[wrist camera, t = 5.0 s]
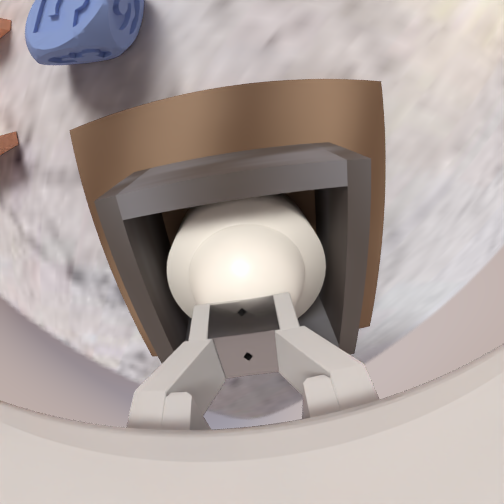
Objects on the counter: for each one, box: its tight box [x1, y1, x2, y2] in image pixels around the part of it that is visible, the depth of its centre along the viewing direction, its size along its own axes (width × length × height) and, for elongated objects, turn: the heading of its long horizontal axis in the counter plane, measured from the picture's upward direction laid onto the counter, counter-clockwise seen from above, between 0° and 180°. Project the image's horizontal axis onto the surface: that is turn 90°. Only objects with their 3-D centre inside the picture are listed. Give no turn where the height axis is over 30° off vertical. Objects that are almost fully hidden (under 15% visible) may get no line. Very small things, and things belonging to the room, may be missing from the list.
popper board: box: [70, 79, 385, 363], centre depth 12 cm, size 14×14×5 cm
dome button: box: [167, 193, 326, 319], centre depth 11 cm, size 6×6×4 cm
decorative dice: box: [25, 0, 144, 65], centre depth 6 cm, size 4×4×4 cm
